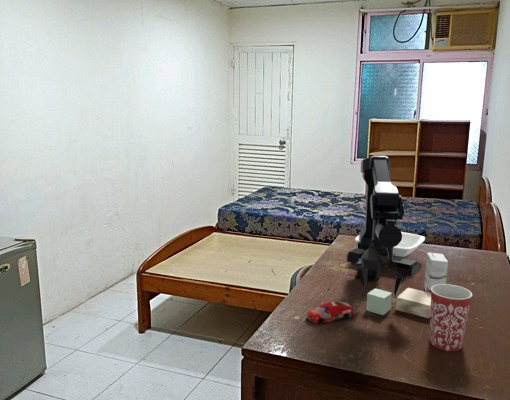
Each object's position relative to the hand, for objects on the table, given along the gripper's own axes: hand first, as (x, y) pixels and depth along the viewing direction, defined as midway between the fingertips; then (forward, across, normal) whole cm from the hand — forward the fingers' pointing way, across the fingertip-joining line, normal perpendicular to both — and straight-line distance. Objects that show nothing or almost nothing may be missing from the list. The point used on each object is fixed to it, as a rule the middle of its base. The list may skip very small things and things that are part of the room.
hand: (379, 290), depth 127 cm
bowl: (+6, -16, +44) cm, 47 cm away
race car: (+6, -8, -13) cm, 16 cm away
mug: (+6, +20, -6) cm, 22 cm away
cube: (+6, 0, 0) cm, 6 cm away
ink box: (+6, +8, +22) cm, 24 cm away
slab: (+6, +8, +8) cm, 13 cm away
